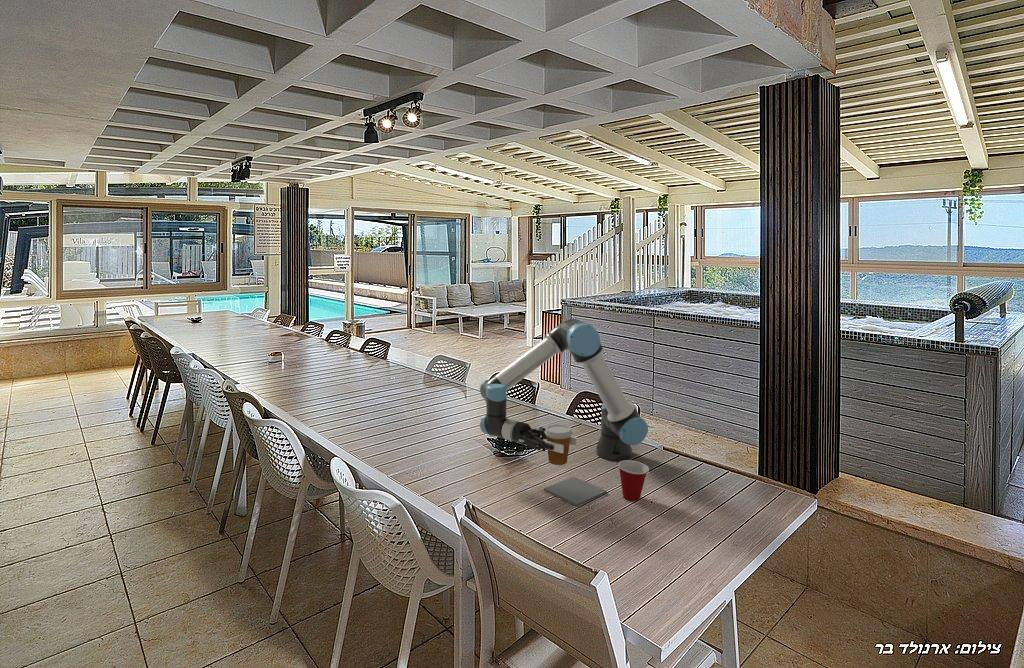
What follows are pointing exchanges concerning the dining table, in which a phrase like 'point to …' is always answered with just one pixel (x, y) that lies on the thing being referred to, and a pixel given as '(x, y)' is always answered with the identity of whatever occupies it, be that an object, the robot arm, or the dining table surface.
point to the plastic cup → (632, 478)
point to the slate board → (575, 491)
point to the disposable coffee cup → (558, 442)
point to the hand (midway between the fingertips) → (570, 445)
